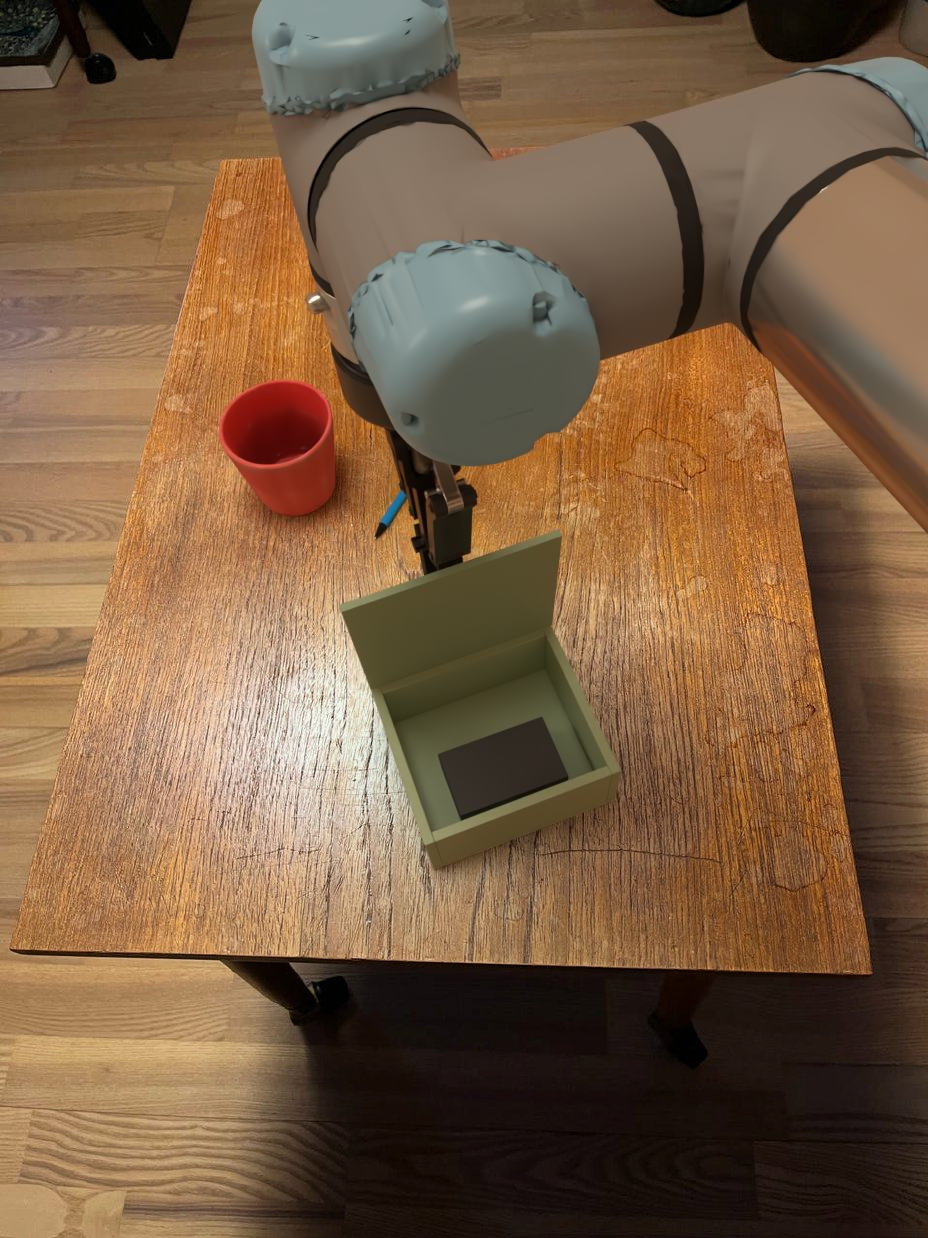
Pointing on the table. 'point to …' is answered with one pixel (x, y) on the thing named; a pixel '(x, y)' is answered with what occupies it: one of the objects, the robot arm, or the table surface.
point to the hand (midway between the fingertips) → (444, 578)
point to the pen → (391, 513)
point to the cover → (455, 610)
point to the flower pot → (282, 444)
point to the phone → (502, 768)
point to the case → (481, 706)
